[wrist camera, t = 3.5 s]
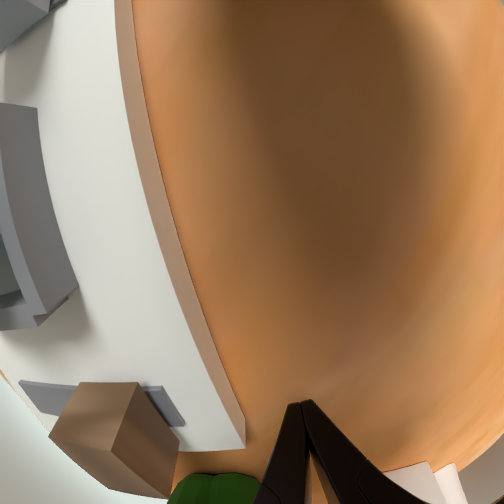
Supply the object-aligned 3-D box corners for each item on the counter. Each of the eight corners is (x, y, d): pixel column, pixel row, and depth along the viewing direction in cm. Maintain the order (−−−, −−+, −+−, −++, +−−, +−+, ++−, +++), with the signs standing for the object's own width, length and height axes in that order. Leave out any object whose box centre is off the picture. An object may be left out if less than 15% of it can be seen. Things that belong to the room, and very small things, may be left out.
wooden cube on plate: (137, 381, 8) (110, 450, 5) (179, 441, 9) (169, 499, 6) (80, 381, 8) (48, 436, 5) (125, 438, 10) (108, 489, 6)
